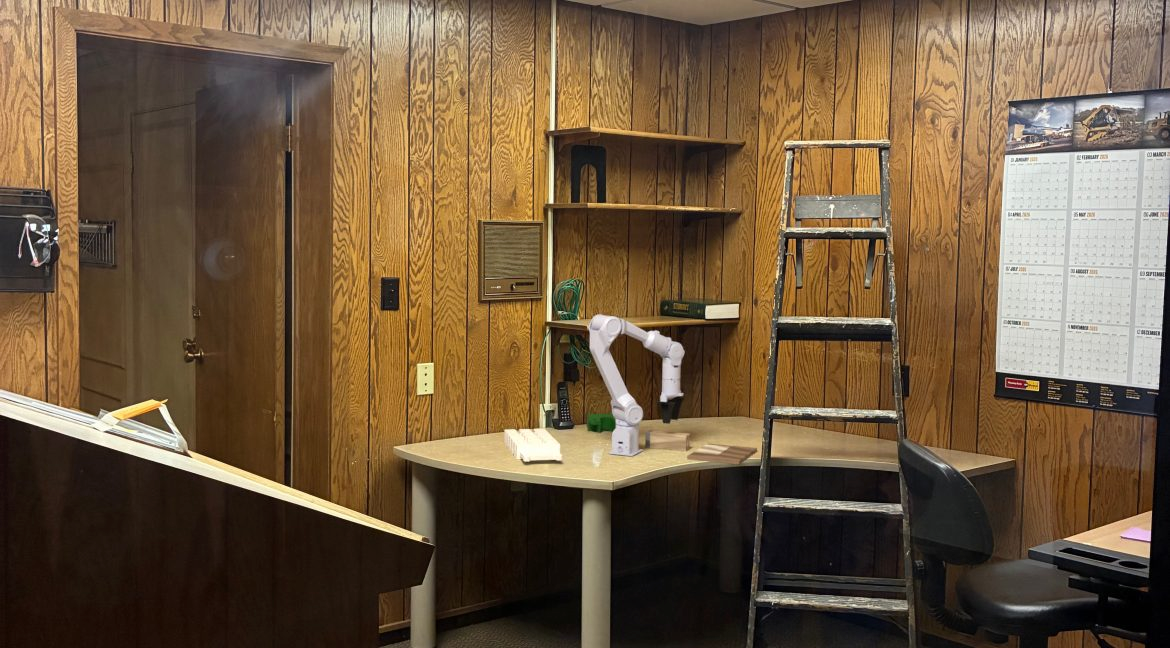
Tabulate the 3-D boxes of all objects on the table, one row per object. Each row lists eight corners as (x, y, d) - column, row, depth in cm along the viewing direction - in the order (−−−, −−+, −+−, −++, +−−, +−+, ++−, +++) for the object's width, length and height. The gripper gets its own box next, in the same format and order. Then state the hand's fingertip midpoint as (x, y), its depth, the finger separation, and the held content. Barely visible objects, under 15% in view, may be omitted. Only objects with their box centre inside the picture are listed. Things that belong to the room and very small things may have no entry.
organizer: (544, 428, 333) (565, 449, 299) (544, 443, 333) (565, 466, 299) (504, 429, 330) (521, 451, 296) (504, 444, 330) (521, 467, 296)
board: (738, 464, 303) (738, 460, 303) (687, 459, 309) (687, 455, 309) (756, 451, 323) (757, 447, 323) (708, 446, 330) (708, 443, 329)
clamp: (595, 445, 352) (586, 423, 348) (590, 437, 357) (582, 416, 354) (626, 431, 353) (619, 409, 350) (622, 424, 359) (614, 402, 355)
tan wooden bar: (685, 451, 321) (686, 435, 321) (645, 447, 326) (645, 432, 326) (689, 449, 325) (690, 433, 324) (649, 445, 330) (649, 430, 330)
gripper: (675, 382, 315) (675, 426, 316) (690, 377, 329) (689, 418, 330) (654, 381, 318) (653, 424, 319) (669, 375, 331) (668, 417, 332)
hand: (670, 421), depth 325 cm, fingers open, 7 cm apart
